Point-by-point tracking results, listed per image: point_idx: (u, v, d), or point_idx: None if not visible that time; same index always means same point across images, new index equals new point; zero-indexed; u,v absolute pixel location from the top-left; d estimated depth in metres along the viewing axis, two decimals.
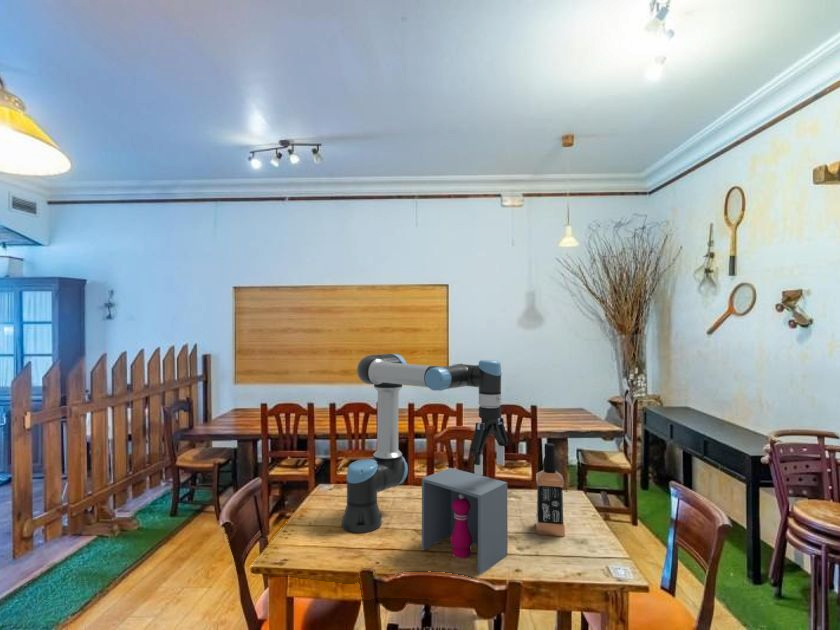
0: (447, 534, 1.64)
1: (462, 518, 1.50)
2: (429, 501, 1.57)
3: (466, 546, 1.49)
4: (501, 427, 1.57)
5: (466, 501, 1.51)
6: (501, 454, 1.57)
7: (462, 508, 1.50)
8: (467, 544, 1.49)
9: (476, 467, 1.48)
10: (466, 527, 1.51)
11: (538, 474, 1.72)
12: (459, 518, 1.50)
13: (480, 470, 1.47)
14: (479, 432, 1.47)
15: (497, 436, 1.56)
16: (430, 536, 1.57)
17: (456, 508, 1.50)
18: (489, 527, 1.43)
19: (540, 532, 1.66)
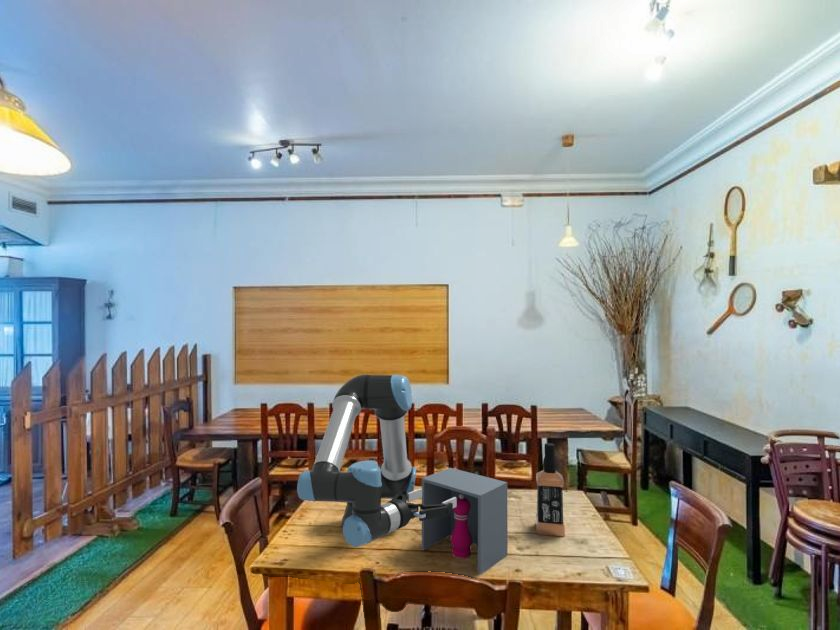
0: (447, 534, 1.64)
1: (462, 518, 1.50)
2: (429, 501, 1.57)
3: (466, 546, 1.49)
4: None
5: (466, 501, 1.51)
6: None
7: (462, 508, 1.50)
8: (467, 544, 1.49)
9: None
10: (466, 527, 1.51)
11: (538, 474, 1.72)
12: (459, 518, 1.50)
13: None
14: None
15: None
16: (430, 536, 1.57)
17: (456, 508, 1.50)
18: (489, 527, 1.43)
19: (540, 532, 1.66)
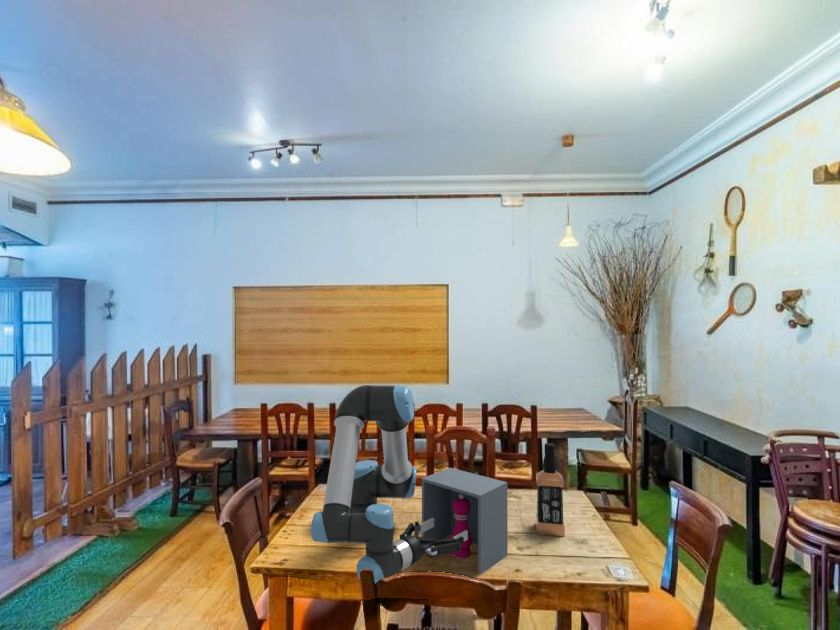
0: (447, 534, 1.64)
1: (462, 518, 1.50)
2: (429, 501, 1.57)
3: (466, 546, 1.49)
4: None
5: (466, 501, 1.51)
6: None
7: (462, 508, 1.50)
8: (467, 544, 1.49)
9: None
10: (466, 527, 1.51)
11: (538, 474, 1.72)
12: (459, 518, 1.50)
13: None
14: None
15: None
16: (430, 536, 1.57)
17: (456, 508, 1.50)
18: (489, 527, 1.43)
19: (540, 532, 1.66)
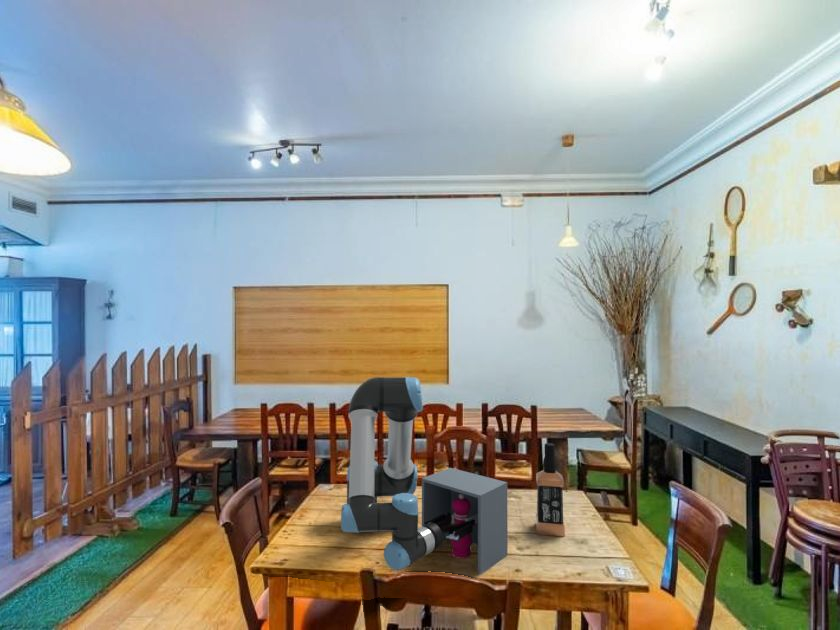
0: None
1: (462, 518, 1.50)
2: (429, 501, 1.57)
3: (466, 546, 1.49)
4: None
5: (466, 501, 1.51)
6: None
7: (462, 508, 1.50)
8: (467, 544, 1.49)
9: None
10: None
11: (538, 474, 1.72)
12: (459, 518, 1.50)
13: None
14: None
15: None
16: None
17: (456, 508, 1.50)
18: (489, 527, 1.43)
19: (540, 532, 1.66)
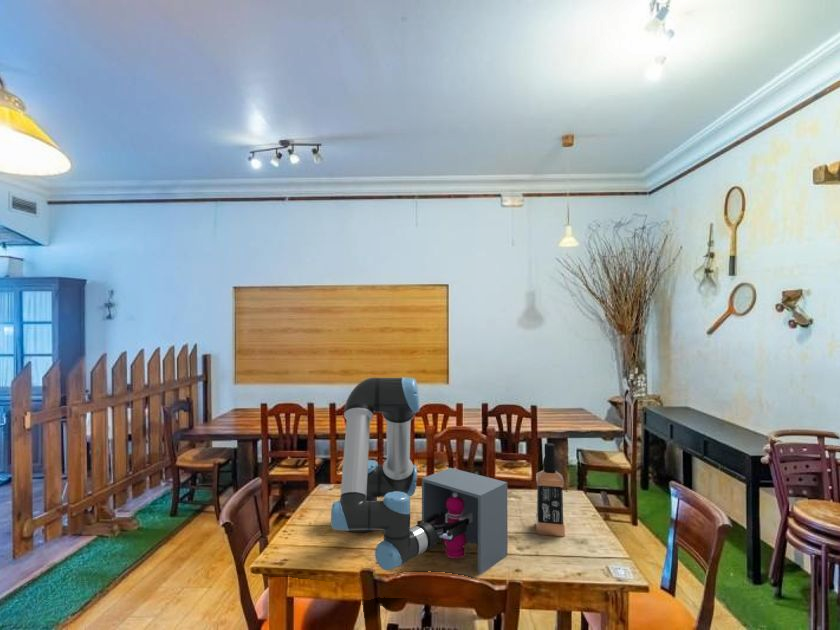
0: None
1: (456, 517, 1.47)
2: (429, 501, 1.57)
3: (460, 546, 1.46)
4: None
5: (460, 500, 1.48)
6: None
7: (456, 507, 1.47)
8: (461, 544, 1.46)
9: None
10: None
11: (538, 474, 1.72)
12: (453, 517, 1.47)
13: None
14: None
15: None
16: None
17: (450, 507, 1.47)
18: (489, 527, 1.43)
19: (540, 532, 1.66)
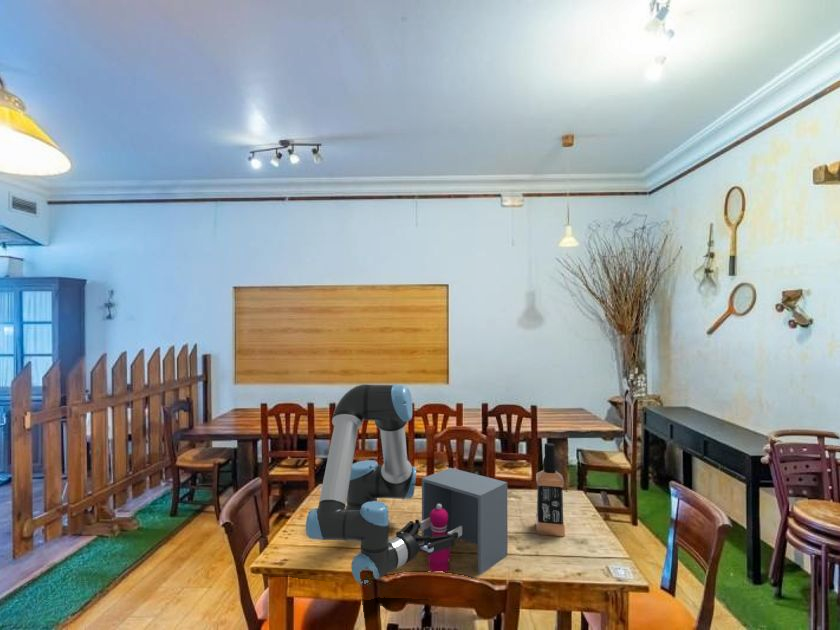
0: (447, 534, 1.64)
1: (440, 530, 1.41)
2: (429, 501, 1.57)
3: (443, 560, 1.40)
4: None
5: (444, 512, 1.42)
6: None
7: (439, 520, 1.41)
8: (445, 558, 1.40)
9: None
10: None
11: (538, 474, 1.72)
12: (436, 530, 1.41)
13: None
14: None
15: None
16: (430, 536, 1.57)
17: (433, 520, 1.41)
18: (489, 527, 1.43)
19: (540, 532, 1.66)
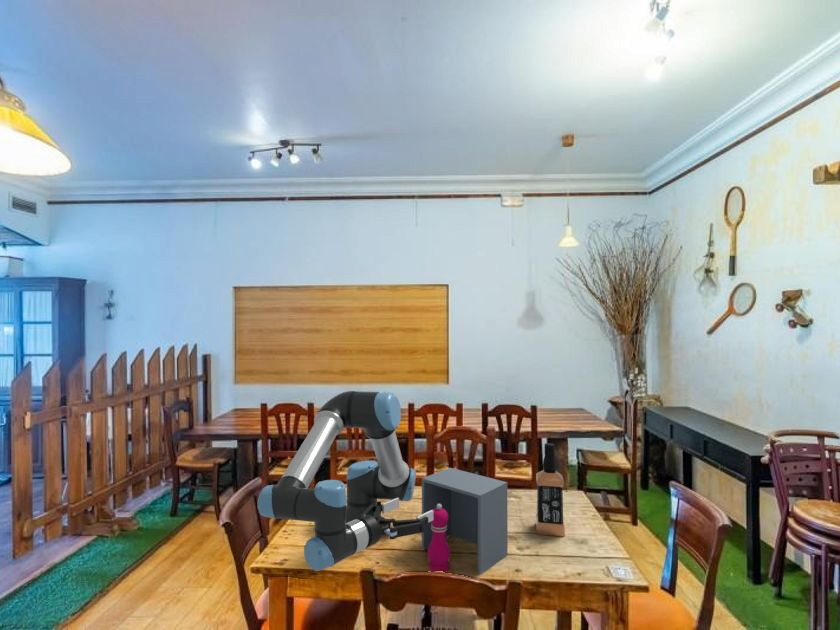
0: (447, 534, 1.64)
1: (440, 530, 1.41)
2: (429, 501, 1.57)
3: (443, 560, 1.40)
4: None
5: (444, 512, 1.42)
6: None
7: (439, 520, 1.41)
8: (445, 558, 1.40)
9: None
10: (444, 540, 1.42)
11: (538, 474, 1.72)
12: (436, 530, 1.41)
13: None
14: None
15: None
16: (430, 536, 1.57)
17: (433, 520, 1.41)
18: (489, 527, 1.43)
19: (540, 532, 1.66)
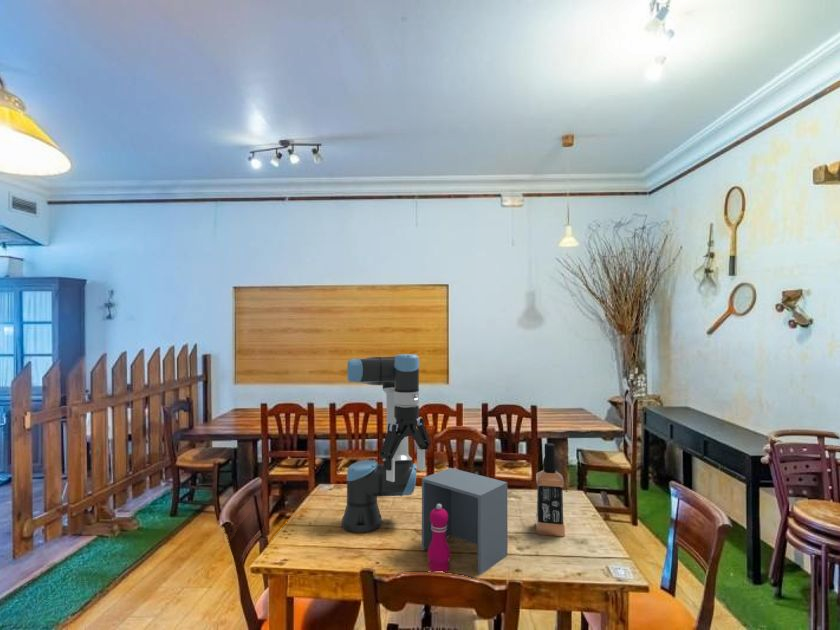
0: (447, 534, 1.64)
1: (440, 530, 1.41)
2: (429, 501, 1.57)
3: (443, 560, 1.40)
4: (421, 428, 1.43)
5: (444, 512, 1.42)
6: (421, 458, 1.43)
7: (439, 520, 1.41)
8: (445, 558, 1.40)
9: (388, 472, 1.33)
10: (444, 540, 1.42)
11: (538, 474, 1.72)
12: (436, 530, 1.41)
13: (392, 476, 1.32)
14: (391, 434, 1.33)
15: (416, 438, 1.42)
16: (430, 536, 1.57)
17: (433, 520, 1.41)
18: (489, 527, 1.43)
19: (540, 532, 1.66)
